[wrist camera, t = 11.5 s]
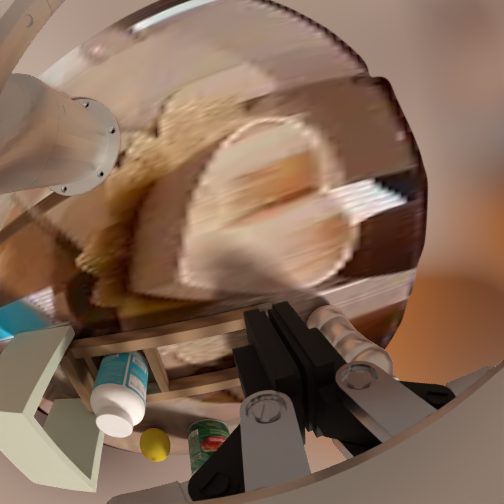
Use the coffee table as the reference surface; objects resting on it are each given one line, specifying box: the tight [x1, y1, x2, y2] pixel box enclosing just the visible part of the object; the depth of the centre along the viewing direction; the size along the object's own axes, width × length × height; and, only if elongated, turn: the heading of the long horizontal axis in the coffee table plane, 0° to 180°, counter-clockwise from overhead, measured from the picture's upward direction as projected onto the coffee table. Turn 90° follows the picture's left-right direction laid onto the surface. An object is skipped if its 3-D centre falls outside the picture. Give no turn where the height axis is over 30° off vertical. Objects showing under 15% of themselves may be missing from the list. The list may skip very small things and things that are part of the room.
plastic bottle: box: [306, 305, 400, 381], centre depth 34 cm, size 6×7×20 cm
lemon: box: [140, 428, 170, 462], centre depth 39 cm, size 6×6×8 cm
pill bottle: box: [90, 350, 148, 437], centre depth 32 cm, size 8×7×14 cm
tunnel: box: [0, 325, 105, 492], centre depth 27 cm, size 12×16×19 cm
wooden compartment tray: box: [60, 302, 272, 413], centre depth 36 cm, size 32×12×7 cm, turn 98°
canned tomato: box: [187, 419, 230, 476], centre depth 41 cm, size 8×8×11 cm
